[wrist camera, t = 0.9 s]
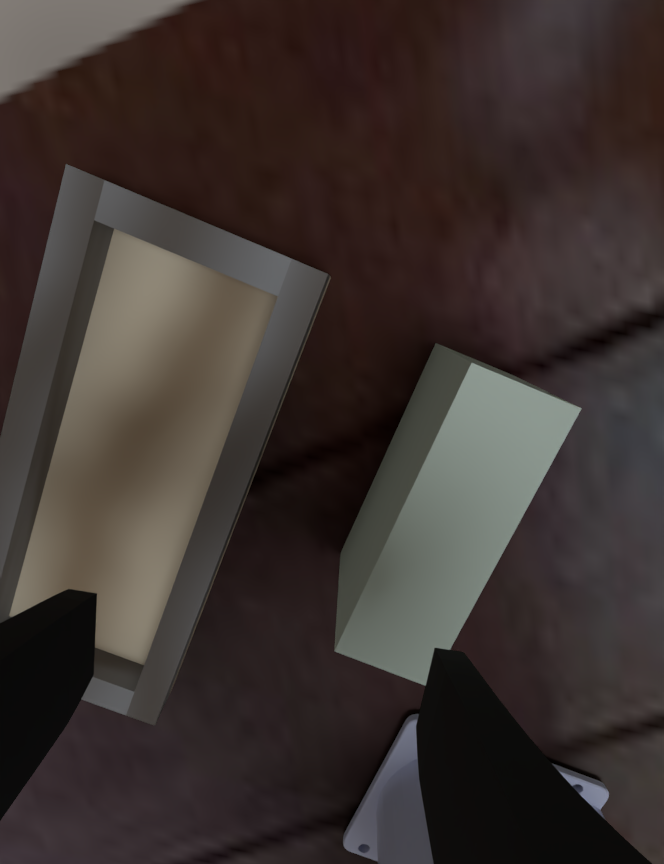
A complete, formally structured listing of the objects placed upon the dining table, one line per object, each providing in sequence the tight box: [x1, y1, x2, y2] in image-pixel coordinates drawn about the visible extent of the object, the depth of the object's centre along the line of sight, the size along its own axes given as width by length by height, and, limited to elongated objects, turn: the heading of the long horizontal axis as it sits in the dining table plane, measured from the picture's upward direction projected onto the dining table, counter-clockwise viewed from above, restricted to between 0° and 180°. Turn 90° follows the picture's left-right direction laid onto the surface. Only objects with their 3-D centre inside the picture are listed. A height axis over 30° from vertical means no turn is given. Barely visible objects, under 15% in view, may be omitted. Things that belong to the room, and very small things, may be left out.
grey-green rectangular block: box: [334, 343, 582, 686], centre depth 17 cm, size 3×9×6 cm, turn 158°
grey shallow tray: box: [0, 164, 331, 726], centre depth 19 cm, size 8×18×2 cm, turn 158°
